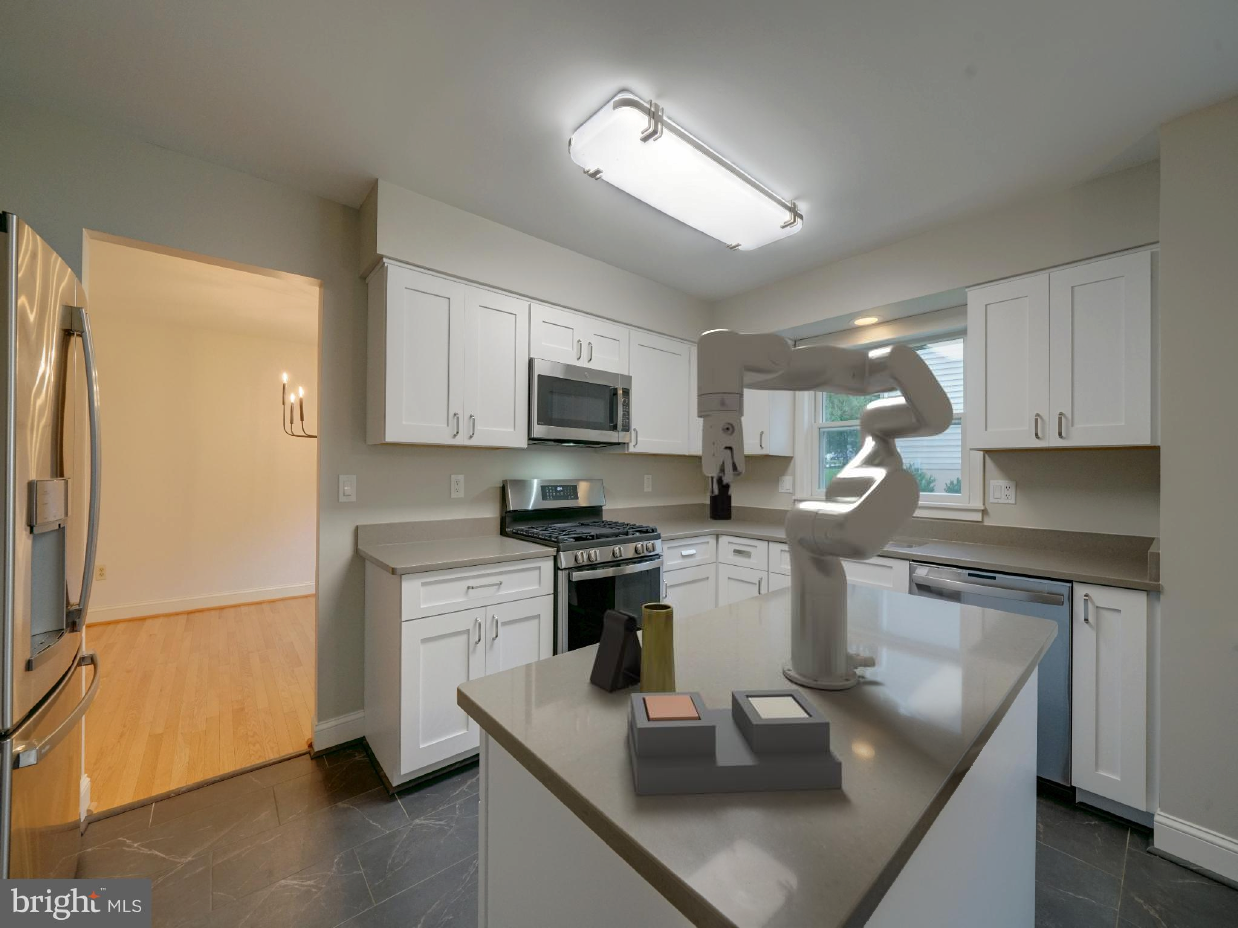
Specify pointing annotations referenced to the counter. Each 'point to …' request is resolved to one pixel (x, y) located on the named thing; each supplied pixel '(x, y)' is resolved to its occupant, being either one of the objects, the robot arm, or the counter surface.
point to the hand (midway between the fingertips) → (720, 519)
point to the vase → (657, 649)
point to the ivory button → (777, 707)
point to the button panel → (731, 748)
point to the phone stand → (617, 653)
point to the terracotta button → (670, 708)
